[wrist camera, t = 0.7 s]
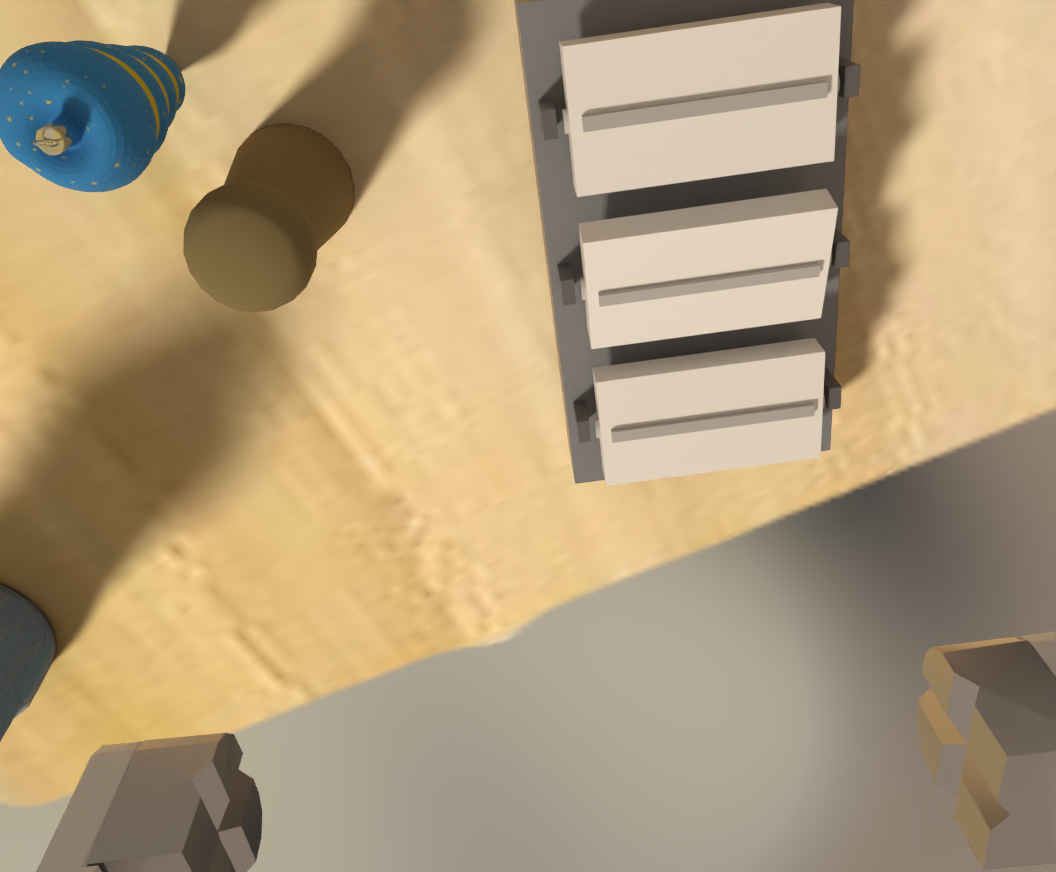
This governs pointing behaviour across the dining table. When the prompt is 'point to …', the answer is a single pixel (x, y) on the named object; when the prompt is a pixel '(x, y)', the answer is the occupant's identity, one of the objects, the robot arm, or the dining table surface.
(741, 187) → the switch unit
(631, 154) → the panel
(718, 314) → the rocker
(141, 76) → the ornament
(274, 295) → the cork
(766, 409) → the grooved switch paddle
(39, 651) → the bottle
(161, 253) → the dining table surface
